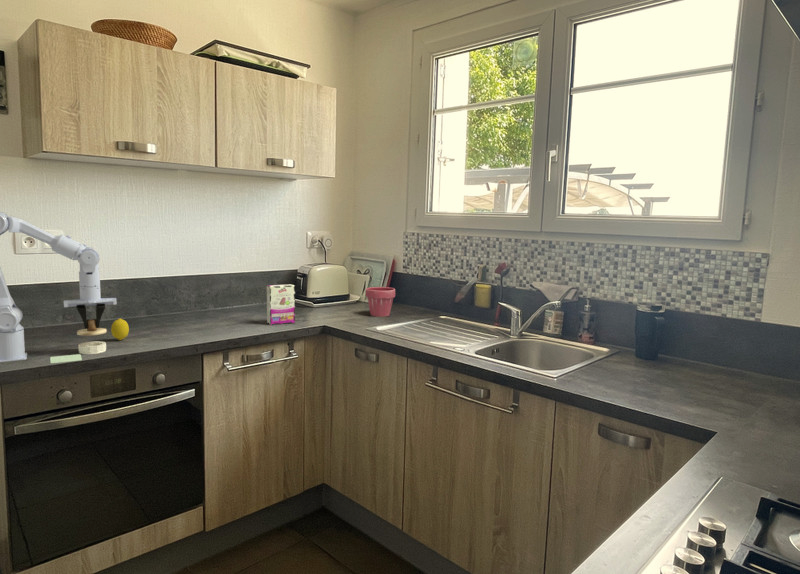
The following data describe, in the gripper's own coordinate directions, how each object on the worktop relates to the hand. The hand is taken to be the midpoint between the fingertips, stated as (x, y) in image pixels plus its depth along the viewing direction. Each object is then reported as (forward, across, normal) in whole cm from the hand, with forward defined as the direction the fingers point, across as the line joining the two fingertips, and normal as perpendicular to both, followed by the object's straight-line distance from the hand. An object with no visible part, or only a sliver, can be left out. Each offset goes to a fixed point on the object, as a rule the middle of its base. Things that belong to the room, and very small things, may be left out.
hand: (91, 327), depth 172 cm
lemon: (+8, +10, +14) cm, 18 cm away
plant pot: (+8, +120, +20) cm, 122 cm away
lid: (+2, 0, 0) cm, 2 cm away
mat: (+8, -8, -6) cm, 13 cm away
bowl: (+8, 0, 0) cm, 8 cm away
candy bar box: (+8, +72, +20) cm, 75 cm away
